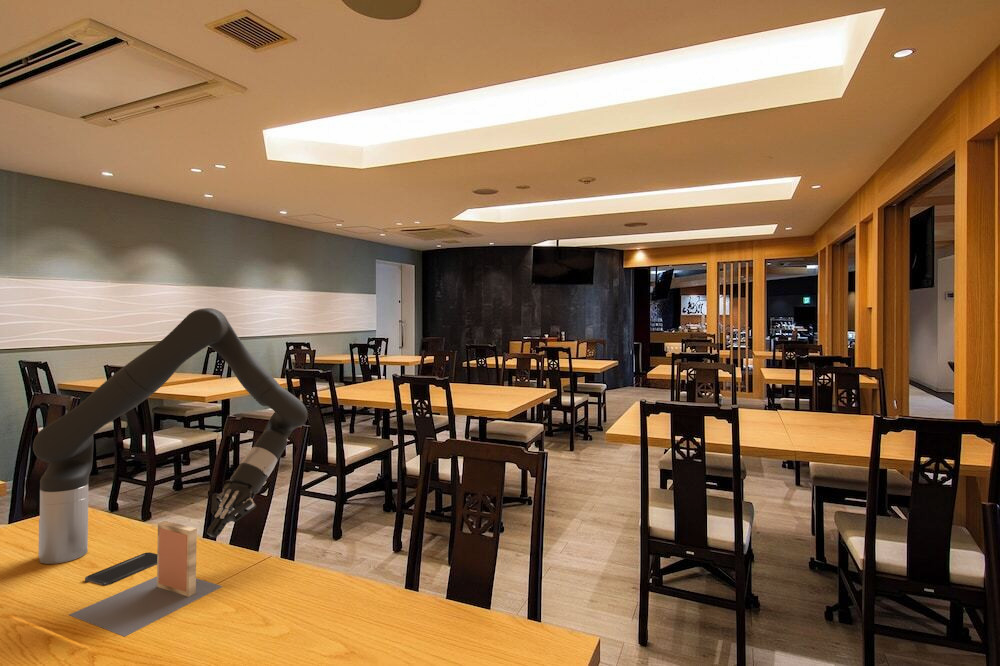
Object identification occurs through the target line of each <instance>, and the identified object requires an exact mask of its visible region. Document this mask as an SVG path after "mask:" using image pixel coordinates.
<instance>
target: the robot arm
mask: <svg viewBox="0 0 1000 666" xmlns="http://www.w3.org/2000/svg"><path fill="white" fill-rule="evenodd" d="M207 347H210V348H211V349H212V350H213V351H215V352H216V353H217V354H218V355H219V356H220V357H221V358H222V359H223V360H224V361H225V363H226V364H227V365H228V366H229V368H230V369H231V371H232V372H233V375H234V376H235V377H236V379H237V380H238V382H239V383H240V385H241V386H242V387H243V388H244V389H245V391H247V392H248V394H249V396H251V397H252V399H254V400H255V401H256V402H257V403H258V404H259V405H260V406H262V407H268V408H270V409H271V410H273V413H272V415H271V416H270V418H269V420H268V422H267V424H266V426H265V428H264V430H263V432H262V434H261V435H260V436H259V437H258V439H257V441H256V442H255V443H254V444H253V446H252V448H251V449H250V450H249V451H248V452H247V454H246V455H245V456H244V457H243V459H242V460H241V462H240V464H239V465H238V467H237V468H236V469H235V471H234V472H233V473H232V475H231V476H230V483H229V484H228V485H227V486H226V487H225V488H224V489H223V491H222V492H220V493H218V492H214V493H213V494H212V495H211V509H210V513H211V514H212V515H213V516H214V519H213V520H212V522H211V523H210V525H209V526H208V528H207V529H206V535H208V536H210V537H211V538H218V537H219V536H220V535H221V533H222V532H223V530H224V528H225V527H226V525H228V524H230V522H233V523H236V522H238V521H239V520H241V519H242V518H243V517H245V516H246V515H248V514H249V513H250V512H252V511H253V510H255V509H256V508H257V504H256V503H255V501H254V500H253V499H254V498H255V495H256V494H258V493H259V492H260V491H261V489H262V488H263V486H264V485H265V483H266V481H267V480H268V478H269V477H270V475H271V473H272V472H273V471H274V469H275V466H276V465H277V463H278V461H279V459H281V458H280V457H281V456H282V455H283V453H284V451H285V449H287V445H288V438H289V437H290V435H291V434H292V432H293V431H294V430H295V429H297V428H299V427H301V426H303V425H304V424H306V422H307V420H308V417H309V414H308V409H307V407H306V405H305V404H304V403H303V402H302V401H301V399H299V398H298V397H296V396H295V395H294V394H293V393H291V392H289V391H288V390H286V389H285V388H283V387H282V386H281V384H280V383H279V382H278V381H277V380H276V379H275V378H274V377H273V375H271V374H270V372H269V371H268V370H267V368H265V367H264V366H263V365H262V364H261V363H260V362H259V360H258V359H257V358H256V357H255V356H254V355H253V354H252V353H251V352H250V351H249V349H248V348H247V347H246V346H245V344H244V343H243V341H242V340H241V339H240V337H239V336H238V335H237V333H236V331H235V330H234V329H233V327H232V325H231V324H230V322H229V320H228V319H227V317H226V315H225V314H224V313H223V312H221V311H220V310H218V309H216V308H208V307H207V308H199V309H195V310H193V311H192V312H190V313H188V315H187V316H186V317H184V318H183V319H182V321H181V322H179V323H178V324H177V325H176V326H175V328H173V330H171V331H170V332H169V333H168V334H167V335H166V336H165V337H164V338H163V339H162V340H160V341H159V342H158V343H155V344H154V345H153V346H151V347H150V348H148V349H147V350H145V351H143V352H142V353H141V354H139V355H138V356H136V357H135V358H133V359H132V360H131V361H129V362H127V364H125V365H124V366H122V367H121V368H120V369H118V371H116V372H115V373H114V374H113V375H112V376H110V377H109V378H108V379H107V380H106V381H104V382H103V383H102V384H101V385H100V386H99V387H97V388H96V389H95V390H94V391H93V392H92V393H91V394H90V395H88V396H87V397H86V398H85V399H84V400H83V401H82V402H81V403H80V404H78V405H77V406H75V407H74V408H73V409H71V410H70V411H68V412H67V413H65V414H64V415H62V416H61V417H59V418H58V419H56V420H54V421H53V422H52V423H50V424H48V425H47V426H45V427H43V428H42V429H41V430H40V431H38V433H37V434H36V435H35V437H34V440H33V443H32V451H33V453H34V456H36V458H38V459H39V460H41V461H43V462H47V463H48V465H47V469H46V470H45V472H44V473H43V474H42V476H41V477H40V480H39V519H38V558H39V560H38V561H39V563H41V564H45V565H46V564H47V565H51V564H52V565H53V564H54V565H55V564H62V563H67V562H71V561H74V560H76V559H79V558H81V557H84V556H85V555H86V554H87V553H88V551H89V549H88V545H89V544H88V543H89V541H88V540H89V478H90V475H91V472H92V468H93V459H94V441H95V440H94V434H96V433H97V432H98V431H99V430H100V429H103V427H105V426H106V425H107V424H109V423H110V422H112V421H114V420H116V419H117V418H120V417H121V416H123V415H125V414H126V413H128V412H130V411H132V410H133V409H134V408H136V407H137V406H139V405H140V404H142V403H143V402H145V400H147V399H148V398H149V397H150V396H152V395H153V394H155V393H156V391H158V390H159V389H160V388H161V387H162V386H164V384H166V383H167V382H168V380H169V379H171V377H172V376H173V375H174V374H175V372H176V371H177V370H178V369H179V368H180V367H182V365H183V364H184V363H185V362H186V361H187V360H189V359H190V358H192V357H193V356H194V355H196V354H198V353H199V352H201V351H202V350H204V349H206V348H207Z"/></svg>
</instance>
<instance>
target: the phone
mask: <svg viewBox="0 0 1000 666" xmlns="http://www.w3.org/2000/svg"><path fill="white" fill-rule="evenodd" d="M154 566H157V553H154V552H143V553H140V554H138V555H136V556H133V557H130V558H129V559H126V560H124V561H121V562H119V563H117V564H114V565H111V566H109V567H105V568H104V569H101V570H99V571H96V572H93V573H91V574H89V575H87V576H85V578H84V582H85V583H86V584H87V583H92V584H97V585H100V586H110V585H112V584H116V583H117V582H119V581H120V582H121V580H124V579H126V578H128V577H131V576H134V575H136V574H138V573H140V572H142V571H145V570H148V569H150V568H152V567H154Z"/></svg>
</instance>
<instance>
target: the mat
mask: <svg viewBox="0 0 1000 666" xmlns="http://www.w3.org/2000/svg"><path fill="white" fill-rule="evenodd" d="M222 587H223V588H224V586H223V585H221V584H217V583H213V582H209V581H207V580H203V579H199V578H197V577H196V594H194V595H192V596H190V597H188V596H185V595H181V594H178V593H175V592H172V591H169V590H166V589H163V588H159V587H157V576H155V577H153V578H152V577H151V578H150V579H148V580H145V581H143V582H141V583H139V584H137V585H135V586H132V587H129V588H127V589H125V590H123V591H120V592H118V593H116V594H113V595H111V596H109V597H106V598H104V599H102V600H98V601H97V602H95V603H92V604H90V605H88V606H85V607H83V608H82V609H81V608H80V609H79V610H76V611H74V612H72V613H69V614H68V616H70V617H72V618H74V619H77V620H80V621H83V622H86V623H89V625H90V624H91V625H93V626H95V627H98V628H101V629H104V630H107V631H109V632H111V633H114V634H117V635H119V636H122V637H127V636H129V635H131V634H134V633H135V632H136V631H138V630H140V629H143V628H145V627H147V626H148V625H151V624H152V623H154V622H156V621H159V620H160V619H162V618H164V617H166V616H169V615H170V614H173V613H174V612H176V611H178V610H179V609H181V608H184V607H186V606H188V605H190V604H191V603H193V602H196V601H197V600H199V599H201V598H203V597H206V596H208V595H209V594H212V593H213V592H215V591H217V590H219V589H221V588H222Z"/></svg>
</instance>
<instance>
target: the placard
mask: <svg viewBox="0 0 1000 666" xmlns="http://www.w3.org/2000/svg"><path fill="white" fill-rule="evenodd" d="M197 532H198V529H197V528H196V527H194V526H193V527H192V526H188V525H184V524H181V523H175V522H172V521H168V520H163V521H159V522H157V549H156V550H157V551H156V552H157V553H156V554H157V565H156V568H157V569H156V577H157V587H159V588H163V589H166V590H169V591H172V592H175V593H178V594H181V595H185V596H188V597H190V596H192V595H194V594H196V578H197V542H198V540H197V539H198V538H197V537H198V536H197V534H198V533H197Z"/></svg>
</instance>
